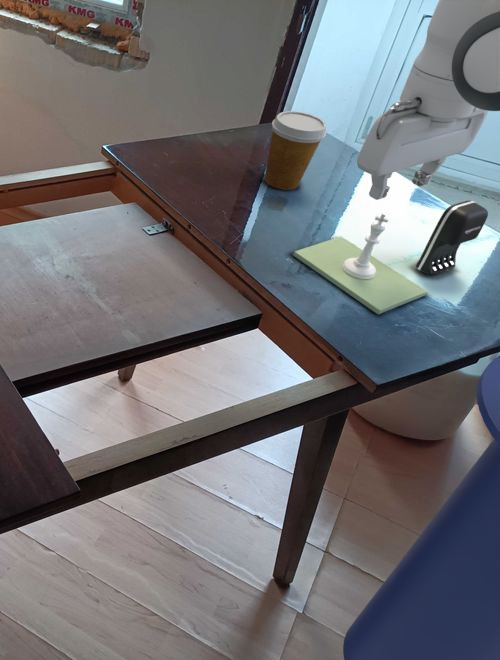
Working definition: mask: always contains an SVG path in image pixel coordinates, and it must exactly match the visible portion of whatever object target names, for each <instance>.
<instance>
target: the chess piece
mask: <svg viewBox="0 0 500 660" xmlns="http://www.w3.org/2000/svg"><path fill="white" fill-rule="evenodd" d="M377 221H378V222H377ZM388 222H389V218H387V217H386V213H384V212H382V213H381V215H380V216H378V215H375V217H374V222H372V223H371V224H370V234H368V235H366V236H364V240H365V242H367V243H366V244H365V246H364V247H363V249H362V250H363V251H362V252H361V254H360V255H359V257H357V258H349V259H347V260H345V262H344V263H343V265H342V268H343V270H344V271H345V272H346V273H347V274H349V275H351V276H353V277H355V278H359V279H371V278H373V277H374V276H375V273H376V268H375V267H374V266H373V265H372V264H371V263H370V262H369V259H370V255H371V256H372V252H373V248H374V246H375V245H378V244H380V242H381V240H380V238H379V237H380V235H381V234H382V233H383V232H384V231H385V230H386V226H385V224H384V223H388Z"/></svg>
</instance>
